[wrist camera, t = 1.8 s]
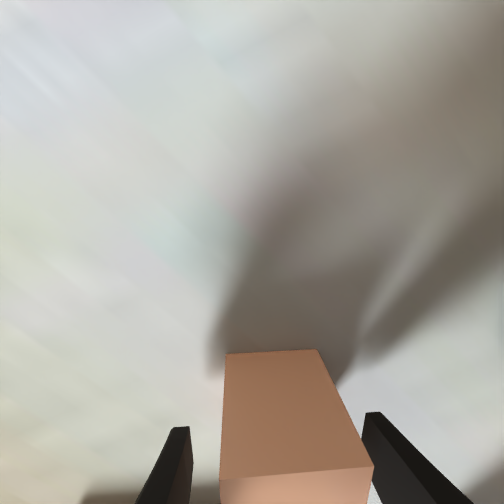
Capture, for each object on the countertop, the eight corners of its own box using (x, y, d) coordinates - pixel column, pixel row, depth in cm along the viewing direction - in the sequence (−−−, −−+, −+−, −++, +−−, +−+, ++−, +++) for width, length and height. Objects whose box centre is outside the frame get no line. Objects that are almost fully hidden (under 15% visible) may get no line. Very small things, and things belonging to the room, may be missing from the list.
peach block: (316, 348, 12) (374, 466, 7) (310, 416, 13) (356, 557, 8) (225, 353, 11) (219, 480, 6) (229, 422, 12) (225, 571, 8)
